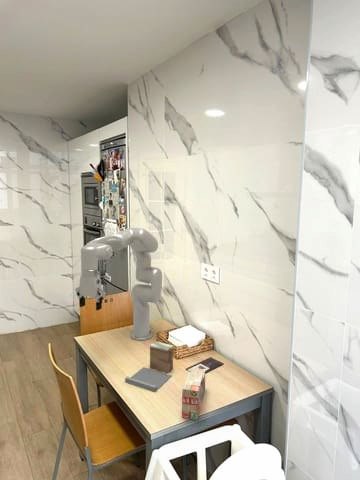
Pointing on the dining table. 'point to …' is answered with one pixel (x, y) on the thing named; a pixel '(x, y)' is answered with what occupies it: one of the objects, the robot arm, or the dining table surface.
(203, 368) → the chocolate bar
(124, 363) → the dining table surface
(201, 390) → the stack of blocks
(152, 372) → the mat
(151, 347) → the walnut block
